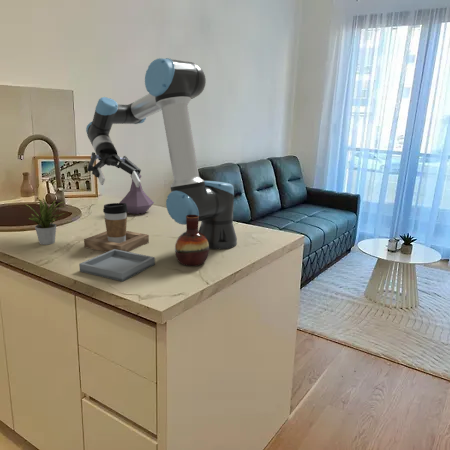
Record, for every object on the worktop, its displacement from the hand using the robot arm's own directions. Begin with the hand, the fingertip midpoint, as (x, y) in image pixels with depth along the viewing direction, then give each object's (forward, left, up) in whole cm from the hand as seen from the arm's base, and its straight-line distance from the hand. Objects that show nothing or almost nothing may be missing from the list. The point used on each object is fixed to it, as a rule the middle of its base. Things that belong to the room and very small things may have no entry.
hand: (121, 183), depth 153 cm
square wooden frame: (-1, +5, -22) cm, 22 cm away
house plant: (+21, +15, -22) cm, 34 cm away
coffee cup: (-1, +5, -22) cm, 22 cm away
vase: (-33, +7, -22) cm, 40 cm away
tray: (-16, +23, -22) cm, 36 cm away
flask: (+24, -40, -22) cm, 51 cm away
